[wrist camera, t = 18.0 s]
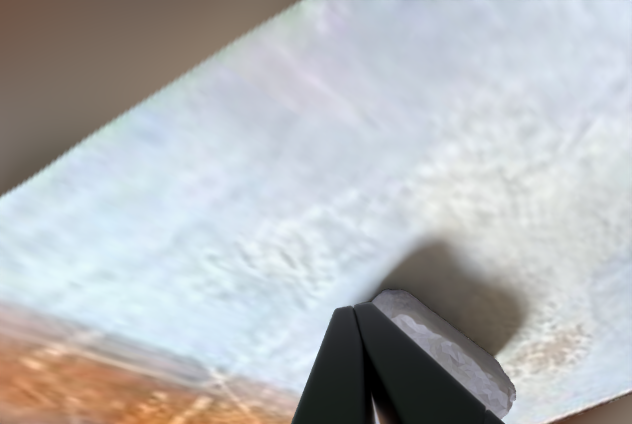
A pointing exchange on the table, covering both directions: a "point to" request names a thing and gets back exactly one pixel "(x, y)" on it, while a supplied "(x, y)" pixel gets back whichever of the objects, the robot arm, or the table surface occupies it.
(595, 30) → the table surface
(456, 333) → the stone block
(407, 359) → the robot arm
